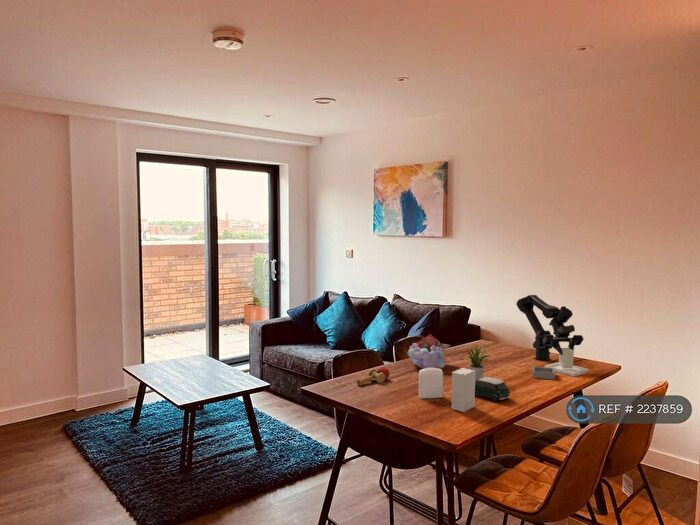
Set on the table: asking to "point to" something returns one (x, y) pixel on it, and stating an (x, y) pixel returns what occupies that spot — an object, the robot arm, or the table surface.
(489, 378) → the miniature car
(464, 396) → the skincare box
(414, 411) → the table surface
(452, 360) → the table surface
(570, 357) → the sage block
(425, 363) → the lumpy lavender cluster
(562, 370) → the tray
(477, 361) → the house plant
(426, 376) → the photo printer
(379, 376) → the kendama
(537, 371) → the holder
